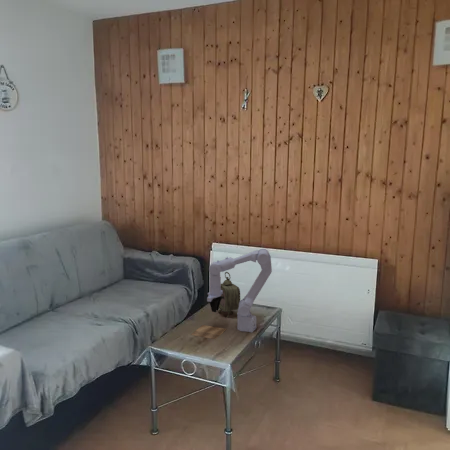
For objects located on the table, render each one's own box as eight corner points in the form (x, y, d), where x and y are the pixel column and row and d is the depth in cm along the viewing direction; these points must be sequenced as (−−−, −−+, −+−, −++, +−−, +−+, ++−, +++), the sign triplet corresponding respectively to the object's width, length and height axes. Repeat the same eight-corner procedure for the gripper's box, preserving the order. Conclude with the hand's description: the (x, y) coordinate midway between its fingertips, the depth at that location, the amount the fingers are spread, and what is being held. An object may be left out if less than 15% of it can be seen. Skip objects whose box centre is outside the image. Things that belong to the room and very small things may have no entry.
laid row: (220, 337, 217) (220, 335, 217) (215, 341, 212) (215, 339, 212) (195, 333, 223) (195, 331, 222) (190, 336, 218) (190, 334, 218)
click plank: (226, 331, 224) (226, 329, 224) (220, 337, 217) (220, 335, 217) (202, 327, 230) (202, 325, 230) (195, 333, 223) (195, 330, 223)
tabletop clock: (216, 311, 253) (215, 270, 249) (230, 309, 257) (229, 268, 253) (226, 320, 240) (226, 276, 236) (241, 317, 244) (241, 274, 240)
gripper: (214, 280, 231) (214, 305, 233) (201, 288, 218) (201, 314, 220) (226, 282, 228) (226, 307, 230) (214, 290, 215) (214, 316, 217)
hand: (215, 311), depth 225 cm, fingers closed
